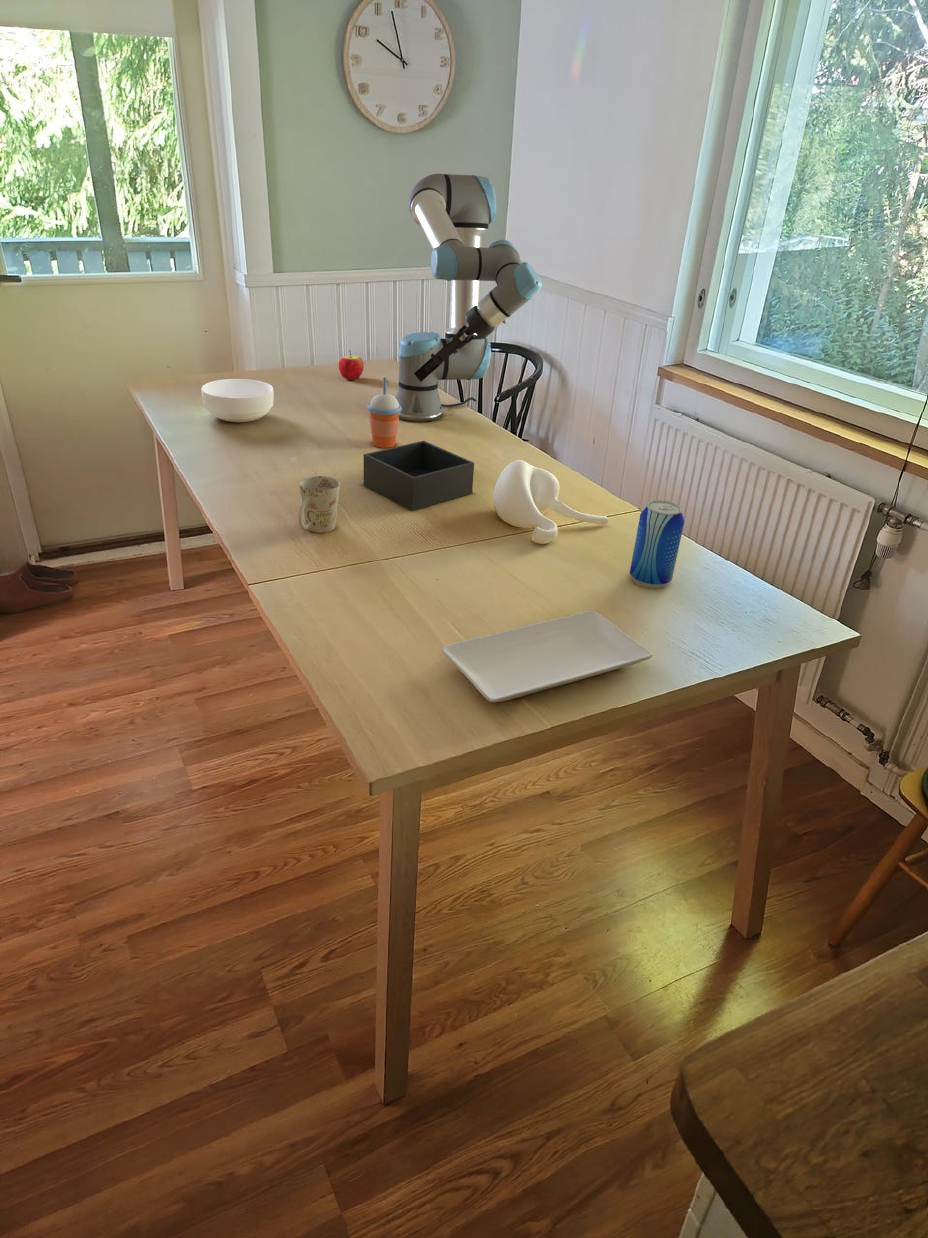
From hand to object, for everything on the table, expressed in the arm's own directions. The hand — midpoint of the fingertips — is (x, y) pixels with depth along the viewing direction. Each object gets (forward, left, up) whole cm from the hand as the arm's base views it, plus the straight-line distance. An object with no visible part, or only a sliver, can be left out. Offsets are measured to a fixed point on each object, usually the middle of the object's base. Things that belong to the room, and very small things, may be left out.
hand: (424, 371), depth 216 cm
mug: (+52, +27, -21) cm, 63 cm away
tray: (+51, +93, -21) cm, 108 cm away
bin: (+19, +21, -21) cm, 35 cm away
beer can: (+11, +84, -21) cm, 88 cm away
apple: (-25, -67, -21) cm, 74 cm away
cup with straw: (+6, -9, -21) cm, 24 cm away
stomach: (+8, +51, -21) cm, 56 cm away
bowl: (+27, -49, -21) cm, 60 cm away
